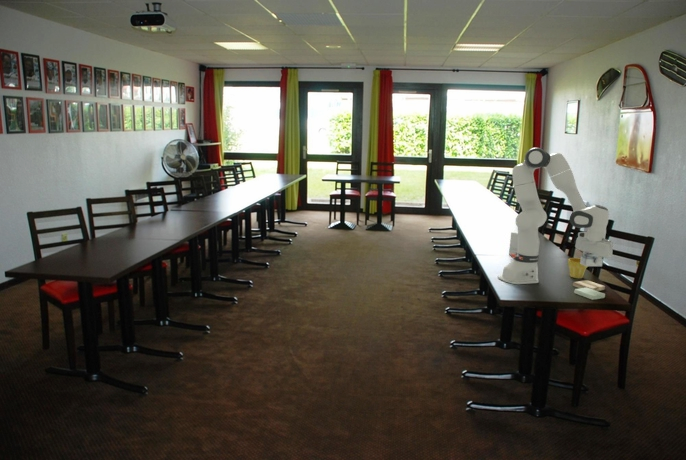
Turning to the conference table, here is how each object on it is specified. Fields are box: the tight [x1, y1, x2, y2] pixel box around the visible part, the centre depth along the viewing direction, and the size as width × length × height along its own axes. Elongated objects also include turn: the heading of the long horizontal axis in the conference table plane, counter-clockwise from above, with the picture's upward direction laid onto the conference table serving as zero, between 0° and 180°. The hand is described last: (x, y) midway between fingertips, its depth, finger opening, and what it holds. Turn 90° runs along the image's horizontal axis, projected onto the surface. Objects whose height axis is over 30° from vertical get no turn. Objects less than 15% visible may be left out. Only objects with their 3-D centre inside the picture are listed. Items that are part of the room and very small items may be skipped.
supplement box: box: [508, 230, 518, 256], centre depth 352 cm, size 9×9×15 cm
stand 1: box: [572, 279, 606, 292], centre depth 288 cm, size 11×11×2 cm
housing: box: [580, 253, 604, 267], centre depth 286 cm, size 10×5×5 cm, turn 103°
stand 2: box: [573, 287, 606, 300], centre depth 276 cm, size 9×11×2 cm
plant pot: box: [567, 257, 589, 279], centre depth 307 cm, size 10×10×10 cm
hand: (591, 261), depth 286 cm, fingers closed on housing, 5 cm apart
